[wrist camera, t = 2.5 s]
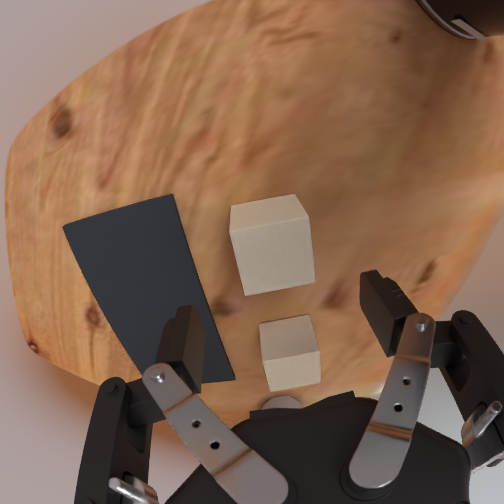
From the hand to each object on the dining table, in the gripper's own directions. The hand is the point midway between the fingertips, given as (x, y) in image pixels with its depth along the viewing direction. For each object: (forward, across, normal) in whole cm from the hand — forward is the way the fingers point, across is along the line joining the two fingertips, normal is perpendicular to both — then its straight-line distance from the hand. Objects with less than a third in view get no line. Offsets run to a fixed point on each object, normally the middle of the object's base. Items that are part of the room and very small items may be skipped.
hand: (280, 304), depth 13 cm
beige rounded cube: (+8, 0, 0) cm, 9 cm away
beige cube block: (+9, 0, +11) cm, 14 cm away
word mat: (+9, +11, +6) cm, 15 cm away
